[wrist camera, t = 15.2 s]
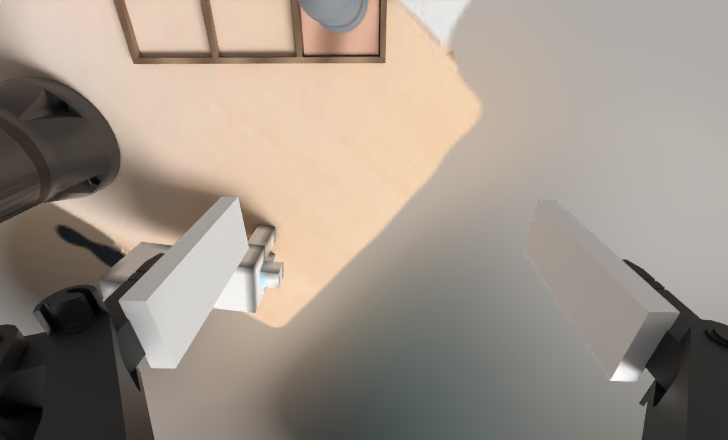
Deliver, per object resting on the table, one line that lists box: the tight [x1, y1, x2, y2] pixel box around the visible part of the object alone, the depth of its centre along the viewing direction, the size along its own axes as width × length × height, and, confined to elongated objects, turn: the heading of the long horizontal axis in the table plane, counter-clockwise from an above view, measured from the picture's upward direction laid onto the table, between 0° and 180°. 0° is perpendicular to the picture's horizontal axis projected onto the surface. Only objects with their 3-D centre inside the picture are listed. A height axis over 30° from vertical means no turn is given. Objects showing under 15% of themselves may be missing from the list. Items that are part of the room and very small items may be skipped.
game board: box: [114, 0, 387, 64], centre depth 35 cm, size 29×12×1 cm, turn 90°
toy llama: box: [98, 225, 283, 313], centre depth 42 cm, size 8×18×20 cm, turn 83°
